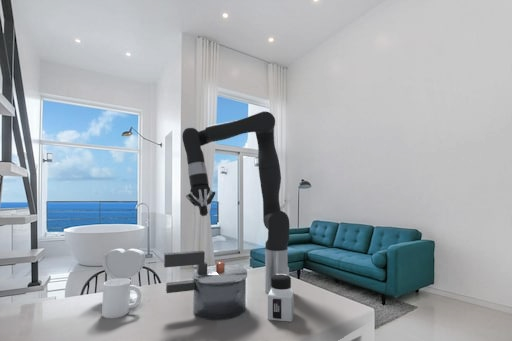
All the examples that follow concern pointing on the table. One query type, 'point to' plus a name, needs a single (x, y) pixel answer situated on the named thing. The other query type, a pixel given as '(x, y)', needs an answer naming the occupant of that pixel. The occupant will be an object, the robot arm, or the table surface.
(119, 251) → the heart sculpture
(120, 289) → the mug
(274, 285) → the container
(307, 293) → the table surface
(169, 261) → the cooker lid
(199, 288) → the cooker pot
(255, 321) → the table surface
